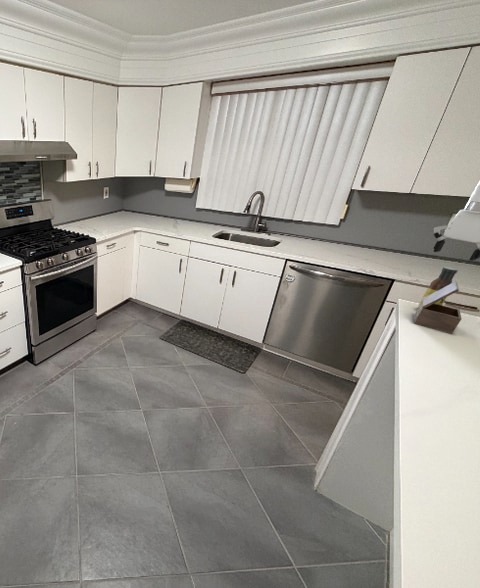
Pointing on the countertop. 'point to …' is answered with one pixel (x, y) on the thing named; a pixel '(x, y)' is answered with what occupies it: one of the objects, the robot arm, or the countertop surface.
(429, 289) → the sauce bottle
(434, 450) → the countertop surface
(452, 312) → the walnut box
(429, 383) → the countertop surface
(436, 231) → the robot arm
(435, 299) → the hatch
